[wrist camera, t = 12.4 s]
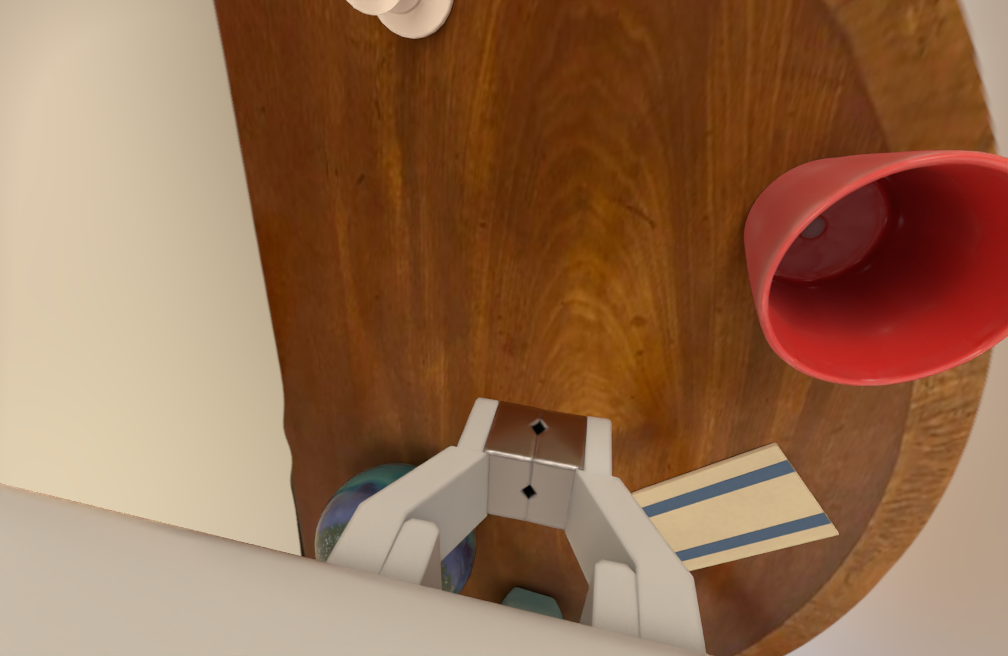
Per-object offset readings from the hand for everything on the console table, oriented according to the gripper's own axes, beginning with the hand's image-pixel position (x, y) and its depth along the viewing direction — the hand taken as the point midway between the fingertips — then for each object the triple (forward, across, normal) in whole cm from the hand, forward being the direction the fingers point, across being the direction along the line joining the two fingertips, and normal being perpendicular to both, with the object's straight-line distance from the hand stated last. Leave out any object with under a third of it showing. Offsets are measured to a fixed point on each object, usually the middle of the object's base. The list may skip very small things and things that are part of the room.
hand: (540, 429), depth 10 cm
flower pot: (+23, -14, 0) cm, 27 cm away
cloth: (+22, -14, +29) cm, 39 cm away
